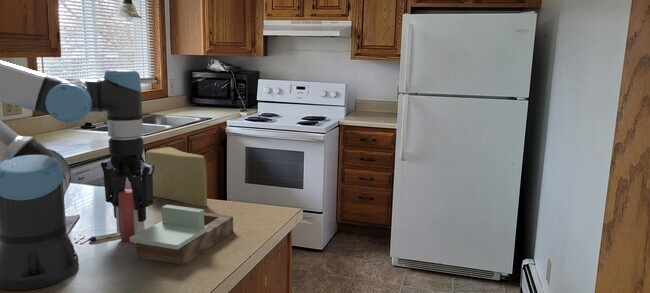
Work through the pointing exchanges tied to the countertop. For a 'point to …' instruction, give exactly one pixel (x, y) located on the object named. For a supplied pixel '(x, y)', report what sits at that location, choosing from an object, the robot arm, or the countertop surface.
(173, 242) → the cover
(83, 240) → the countertop surface
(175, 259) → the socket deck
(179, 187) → the cheese
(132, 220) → the peg
